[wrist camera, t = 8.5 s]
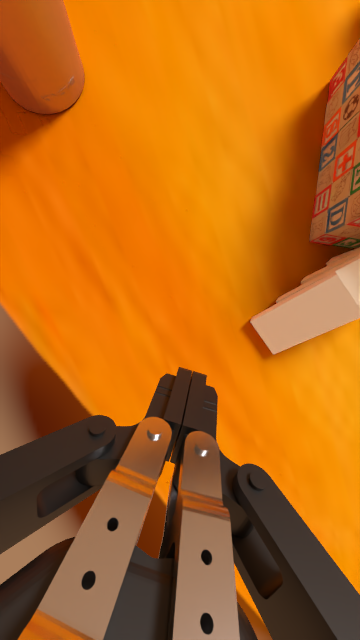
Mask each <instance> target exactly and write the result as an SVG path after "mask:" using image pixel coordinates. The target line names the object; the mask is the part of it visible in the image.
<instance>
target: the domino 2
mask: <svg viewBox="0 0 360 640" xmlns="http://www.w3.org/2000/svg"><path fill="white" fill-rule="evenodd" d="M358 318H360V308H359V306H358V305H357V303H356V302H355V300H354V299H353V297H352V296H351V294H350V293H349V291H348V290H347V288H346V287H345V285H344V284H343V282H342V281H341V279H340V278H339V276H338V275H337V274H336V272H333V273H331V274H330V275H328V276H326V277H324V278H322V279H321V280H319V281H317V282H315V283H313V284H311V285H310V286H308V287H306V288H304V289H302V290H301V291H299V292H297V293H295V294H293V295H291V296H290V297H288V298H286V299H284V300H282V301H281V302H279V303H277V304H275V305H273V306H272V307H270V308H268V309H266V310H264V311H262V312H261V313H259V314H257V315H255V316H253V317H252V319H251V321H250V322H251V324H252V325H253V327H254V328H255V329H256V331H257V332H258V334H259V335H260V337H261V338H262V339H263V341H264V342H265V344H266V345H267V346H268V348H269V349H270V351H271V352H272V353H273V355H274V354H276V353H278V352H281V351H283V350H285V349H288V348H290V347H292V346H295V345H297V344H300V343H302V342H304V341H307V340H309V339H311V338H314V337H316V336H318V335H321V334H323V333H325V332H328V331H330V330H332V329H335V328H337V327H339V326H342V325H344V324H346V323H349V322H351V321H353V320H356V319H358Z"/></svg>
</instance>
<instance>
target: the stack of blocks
mask: <svg viewBox="0 0 360 640" xmlns="http://www.w3.org/2000/svg"><path fill="white" fill-rule="evenodd" d="M321 149H322V150H321V157H320V165H319V174H318V182H317V190H316V196H315V200H314V208H313V216H312V223H311V230H310V238H309V242H313V243H319V244H325V245H334V246H340V247H346V248H355V247H358V246H360V39H359V40H358V42H357V43H356V45H355V46H354V47H353V49H352V50H351V51H350V53H349V54H348V57H347V58H346V59H345V61H344V62H343V63H342V65H341V66H340V67H339V69H338V70H337V72H336V73H335V74H334V76H333V77H332V79H331V80H330V86H329V95H328V103H327V106H326V113H325V122H324V130H323V137H322V145H321Z"/></svg>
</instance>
